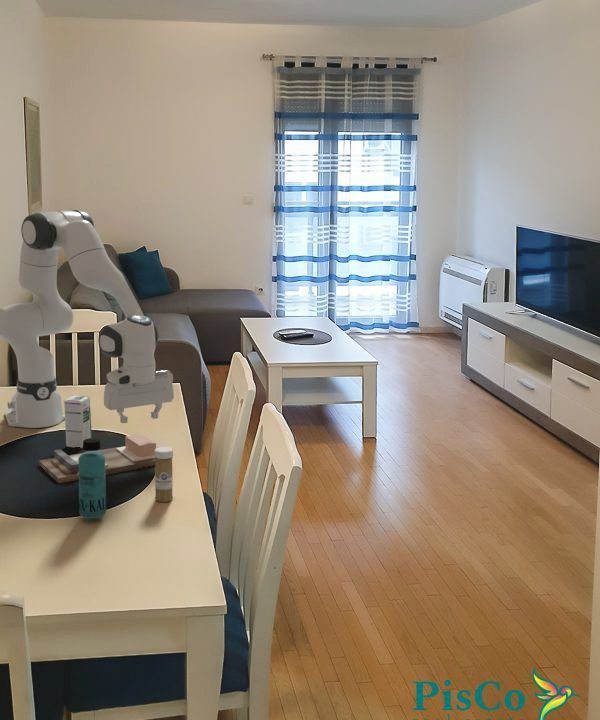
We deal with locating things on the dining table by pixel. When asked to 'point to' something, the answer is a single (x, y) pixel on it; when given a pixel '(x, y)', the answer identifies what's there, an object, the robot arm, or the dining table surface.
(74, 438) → the syrup box
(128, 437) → the pink rectangular block
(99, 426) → the dining table surface
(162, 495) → the sprinkles bottle
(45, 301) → the robot arm
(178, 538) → the dining table surface
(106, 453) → the board
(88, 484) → the beverage bottle
